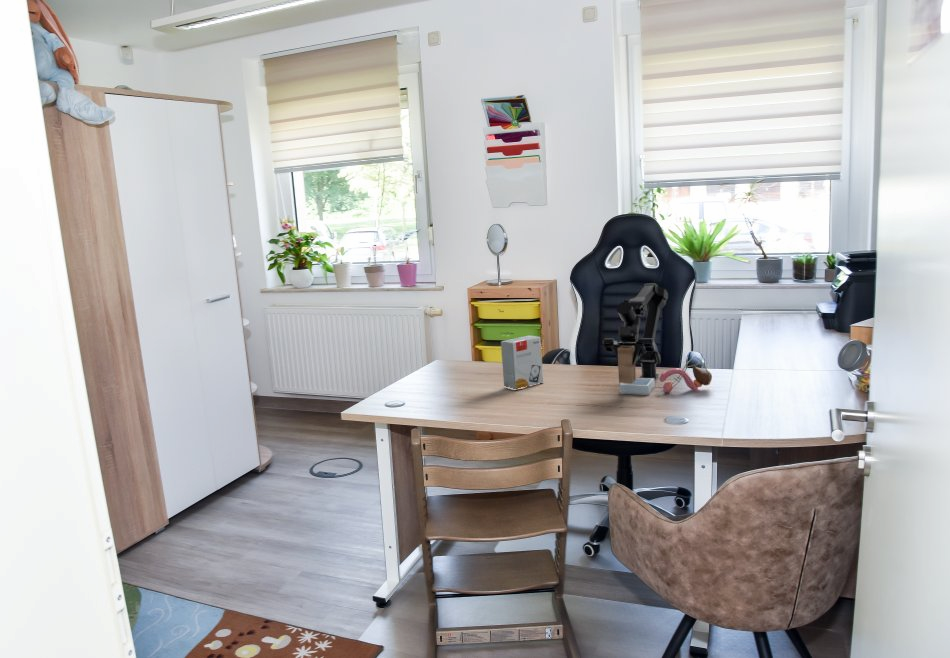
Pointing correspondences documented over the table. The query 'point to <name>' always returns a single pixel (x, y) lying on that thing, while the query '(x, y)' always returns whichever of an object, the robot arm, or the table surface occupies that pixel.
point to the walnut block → (626, 364)
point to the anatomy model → (700, 375)
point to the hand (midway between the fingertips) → (625, 364)
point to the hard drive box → (522, 361)
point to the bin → (638, 386)
